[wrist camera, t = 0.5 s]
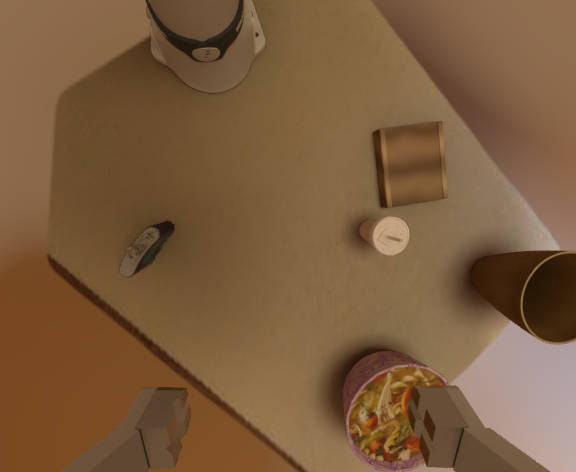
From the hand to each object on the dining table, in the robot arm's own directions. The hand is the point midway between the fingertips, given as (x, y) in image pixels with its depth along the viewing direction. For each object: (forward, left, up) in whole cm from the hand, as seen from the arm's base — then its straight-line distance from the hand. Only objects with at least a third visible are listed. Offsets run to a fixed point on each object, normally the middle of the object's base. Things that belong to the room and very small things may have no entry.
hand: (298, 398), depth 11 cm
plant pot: (+15, +45, -45) cm, 65 cm away
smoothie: (+2, +21, -45) cm, 50 cm away
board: (-9, +30, -45) cm, 55 cm away
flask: (-2, -18, -45) cm, 49 cm away
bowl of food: (+33, +19, -45) cm, 59 cm away
